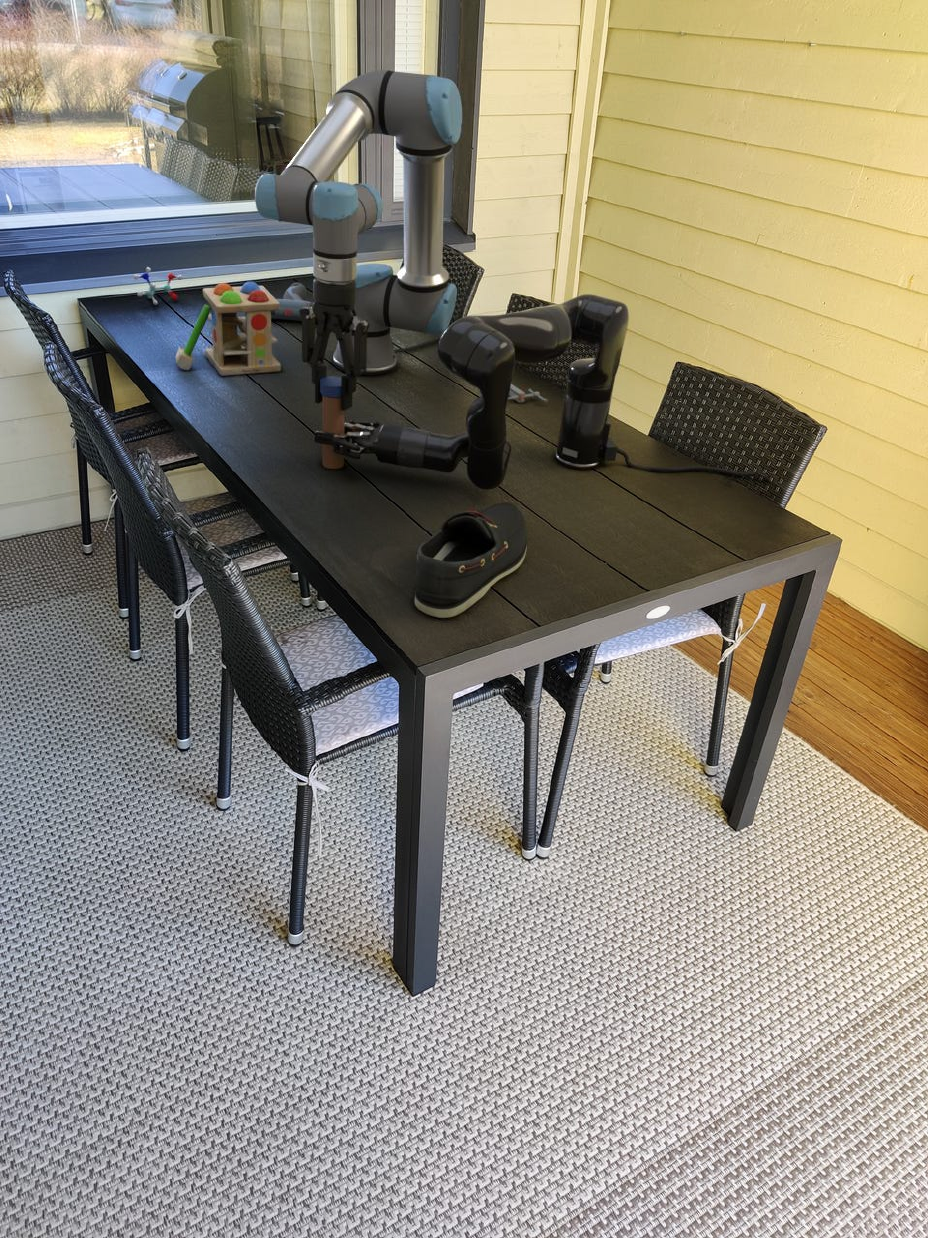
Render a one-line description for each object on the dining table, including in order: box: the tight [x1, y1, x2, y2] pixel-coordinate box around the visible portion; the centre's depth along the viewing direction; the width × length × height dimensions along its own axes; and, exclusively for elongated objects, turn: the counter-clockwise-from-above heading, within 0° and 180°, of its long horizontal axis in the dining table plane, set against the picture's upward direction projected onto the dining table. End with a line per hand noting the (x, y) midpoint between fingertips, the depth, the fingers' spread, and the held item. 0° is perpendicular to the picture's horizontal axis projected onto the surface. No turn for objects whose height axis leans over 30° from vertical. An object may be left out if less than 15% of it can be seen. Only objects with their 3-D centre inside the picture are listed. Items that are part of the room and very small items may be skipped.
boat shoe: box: [412, 501, 528, 619], centre depth 161 cm, size 13×33×10 cm, turn 147°
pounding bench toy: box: [174, 281, 282, 377], centre depth 225 cm, size 23×14×18 cm, turn 116°
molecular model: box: [133, 266, 183, 306], centre depth 263 cm, size 12×10×10 cm
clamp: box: [508, 383, 549, 404], centre depth 228 cm, size 15×2×10 cm
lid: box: [320, 375, 342, 397], centre depth 183 cm, size 5×5×2 cm
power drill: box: [271, 282, 318, 322], centre depth 265 cm, size 5×19×20 cm
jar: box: [321, 395, 346, 470], centre depth 187 cm, size 4×4×16 cm
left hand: (333, 404), depth 185 cm, fingers closed on lid, 5 cm apart
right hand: (319, 431), depth 189 cm, fingers closed on jar, 4 cm apart
